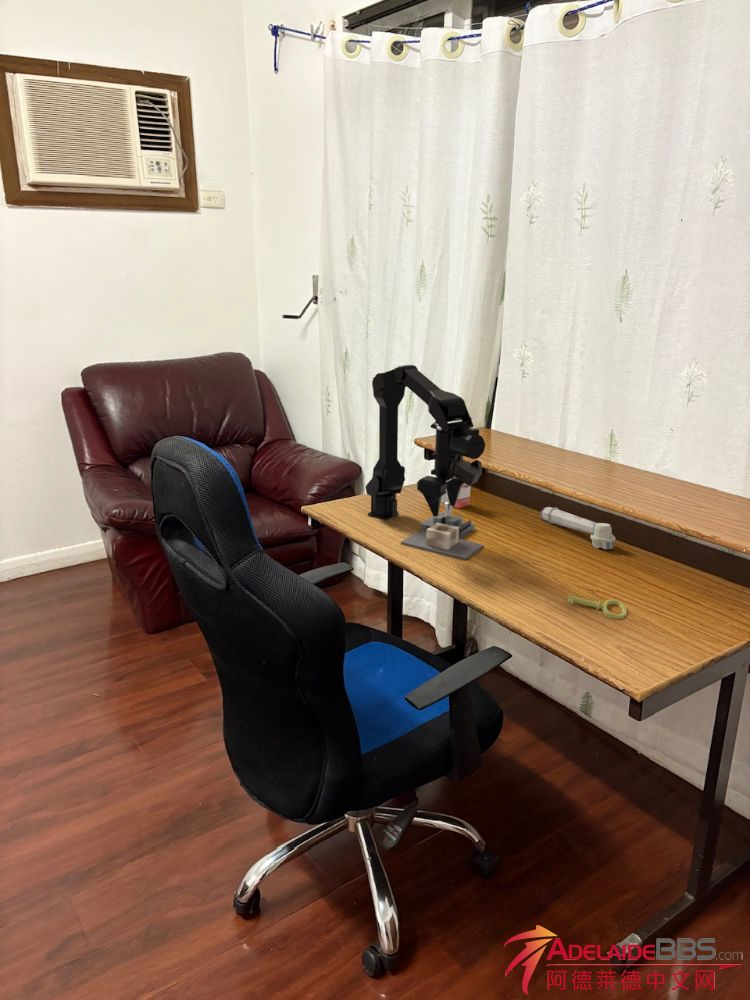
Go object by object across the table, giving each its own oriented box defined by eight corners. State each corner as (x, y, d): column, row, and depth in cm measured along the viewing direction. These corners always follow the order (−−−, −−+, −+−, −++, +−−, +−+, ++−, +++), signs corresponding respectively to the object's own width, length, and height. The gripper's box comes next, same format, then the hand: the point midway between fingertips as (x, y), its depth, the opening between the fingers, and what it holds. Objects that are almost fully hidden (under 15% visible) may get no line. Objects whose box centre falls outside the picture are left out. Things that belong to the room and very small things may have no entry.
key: (563, 603, 154) (564, 593, 154) (622, 605, 154) (623, 596, 153) (570, 619, 147) (572, 610, 147) (632, 621, 147) (633, 612, 146)
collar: (425, 544, 181) (426, 529, 180) (437, 537, 186) (437, 522, 185) (447, 549, 178) (448, 534, 177) (458, 542, 183) (459, 527, 182)
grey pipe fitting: (553, 504, 202) (620, 521, 180) (553, 527, 204) (619, 547, 182) (538, 507, 200) (604, 524, 178) (538, 530, 201) (603, 550, 179)
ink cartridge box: (470, 505, 212) (473, 456, 207) (459, 509, 209) (462, 459, 204) (448, 498, 218) (450, 450, 213) (437, 501, 214) (439, 453, 210)
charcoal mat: (400, 544, 183) (400, 541, 182) (420, 532, 191) (420, 530, 190) (466, 560, 174) (466, 558, 173) (483, 547, 182) (483, 544, 182)
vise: (420, 529, 193) (421, 502, 190) (434, 520, 199) (435, 494, 197) (461, 538, 187) (462, 511, 184) (474, 529, 193) (476, 502, 191)
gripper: (460, 463, 163) (456, 528, 168) (493, 446, 178) (489, 506, 183) (416, 455, 168) (414, 519, 173) (452, 440, 183) (449, 498, 188)
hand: (444, 510), depth 179 cm, fingers open, 9 cm apart
